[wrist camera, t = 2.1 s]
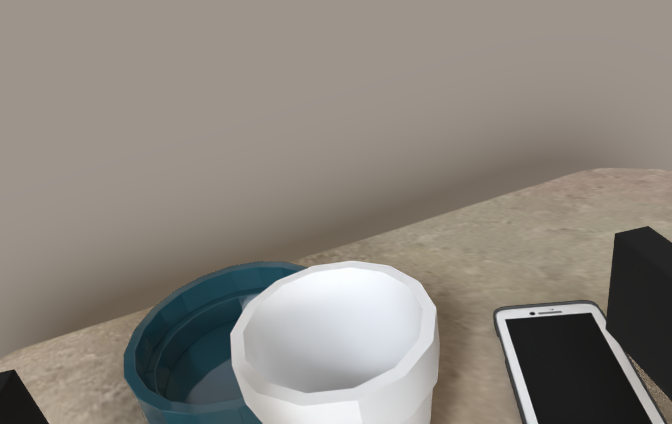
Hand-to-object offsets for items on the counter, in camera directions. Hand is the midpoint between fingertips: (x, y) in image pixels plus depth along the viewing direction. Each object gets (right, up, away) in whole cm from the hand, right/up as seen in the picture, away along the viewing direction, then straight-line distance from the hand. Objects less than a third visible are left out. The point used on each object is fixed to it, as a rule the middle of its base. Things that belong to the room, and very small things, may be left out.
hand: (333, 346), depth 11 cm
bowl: (-6, -9, +28) cm, 30 cm away
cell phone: (+16, -9, +22) cm, 28 cm away
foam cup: (+2, -13, +18) cm, 23 cm away
